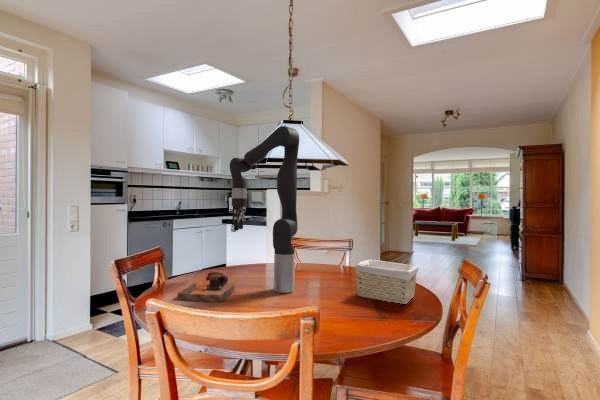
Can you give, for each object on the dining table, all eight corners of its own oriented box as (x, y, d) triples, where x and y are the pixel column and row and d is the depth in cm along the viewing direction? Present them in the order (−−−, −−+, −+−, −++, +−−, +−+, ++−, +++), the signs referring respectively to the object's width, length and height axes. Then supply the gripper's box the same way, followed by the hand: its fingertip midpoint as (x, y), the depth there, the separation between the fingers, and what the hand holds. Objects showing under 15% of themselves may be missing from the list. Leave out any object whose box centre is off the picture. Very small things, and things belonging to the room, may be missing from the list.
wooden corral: (234, 291, 154) (234, 285, 154) (222, 302, 138) (222, 296, 138) (193, 288, 156) (194, 283, 156) (177, 299, 140) (177, 293, 140)
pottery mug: (200, 290, 156) (202, 272, 160) (212, 295, 164) (214, 278, 168) (222, 286, 152) (223, 268, 156) (234, 291, 160) (235, 274, 164)
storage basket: (418, 298, 151) (419, 265, 151) (408, 308, 137) (409, 271, 137) (366, 289, 164) (367, 258, 164) (353, 297, 150) (354, 263, 150)
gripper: (242, 197, 166) (241, 231, 167) (250, 197, 181) (249, 228, 181) (227, 197, 167) (226, 230, 167) (236, 197, 181) (235, 228, 182)
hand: (238, 229), depth 174 cm, fingers open, 7 cm apart
